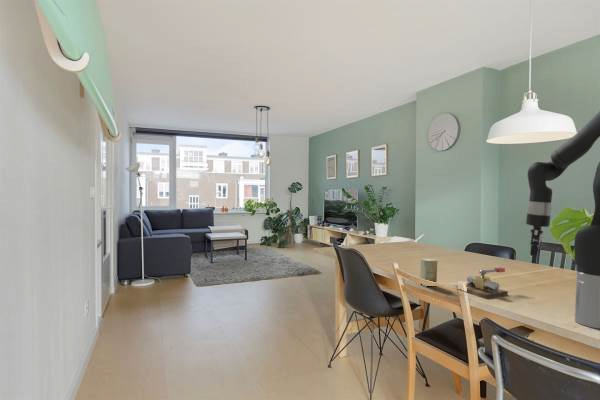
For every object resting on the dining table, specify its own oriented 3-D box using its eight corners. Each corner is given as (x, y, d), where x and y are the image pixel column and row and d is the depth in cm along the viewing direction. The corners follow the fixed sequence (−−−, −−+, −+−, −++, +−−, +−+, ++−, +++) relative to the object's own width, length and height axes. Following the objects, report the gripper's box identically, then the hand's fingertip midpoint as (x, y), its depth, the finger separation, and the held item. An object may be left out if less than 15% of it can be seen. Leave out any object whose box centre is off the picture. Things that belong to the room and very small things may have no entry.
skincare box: (425, 287, 152) (426, 260, 152) (419, 284, 156) (420, 258, 156) (437, 286, 154) (438, 260, 153) (431, 283, 158) (431, 258, 157)
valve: (499, 293, 140) (500, 277, 140) (492, 294, 138) (493, 278, 138) (472, 285, 152) (473, 270, 152) (465, 285, 150) (466, 270, 150)
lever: (483, 274, 143) (483, 271, 143) (477, 273, 145) (477, 269, 145) (505, 272, 149) (505, 268, 149) (499, 270, 151) (499, 267, 151)
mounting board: (507, 294, 143) (507, 291, 143) (485, 298, 137) (485, 294, 137) (478, 286, 156) (478, 282, 155) (456, 289, 150) (456, 285, 150)
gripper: (550, 215, 122) (545, 259, 124) (550, 213, 134) (546, 253, 135) (526, 213, 127) (521, 255, 128) (528, 211, 138) (524, 249, 140)
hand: (534, 254), depth 132 cm, fingers open, 8 cm apart
